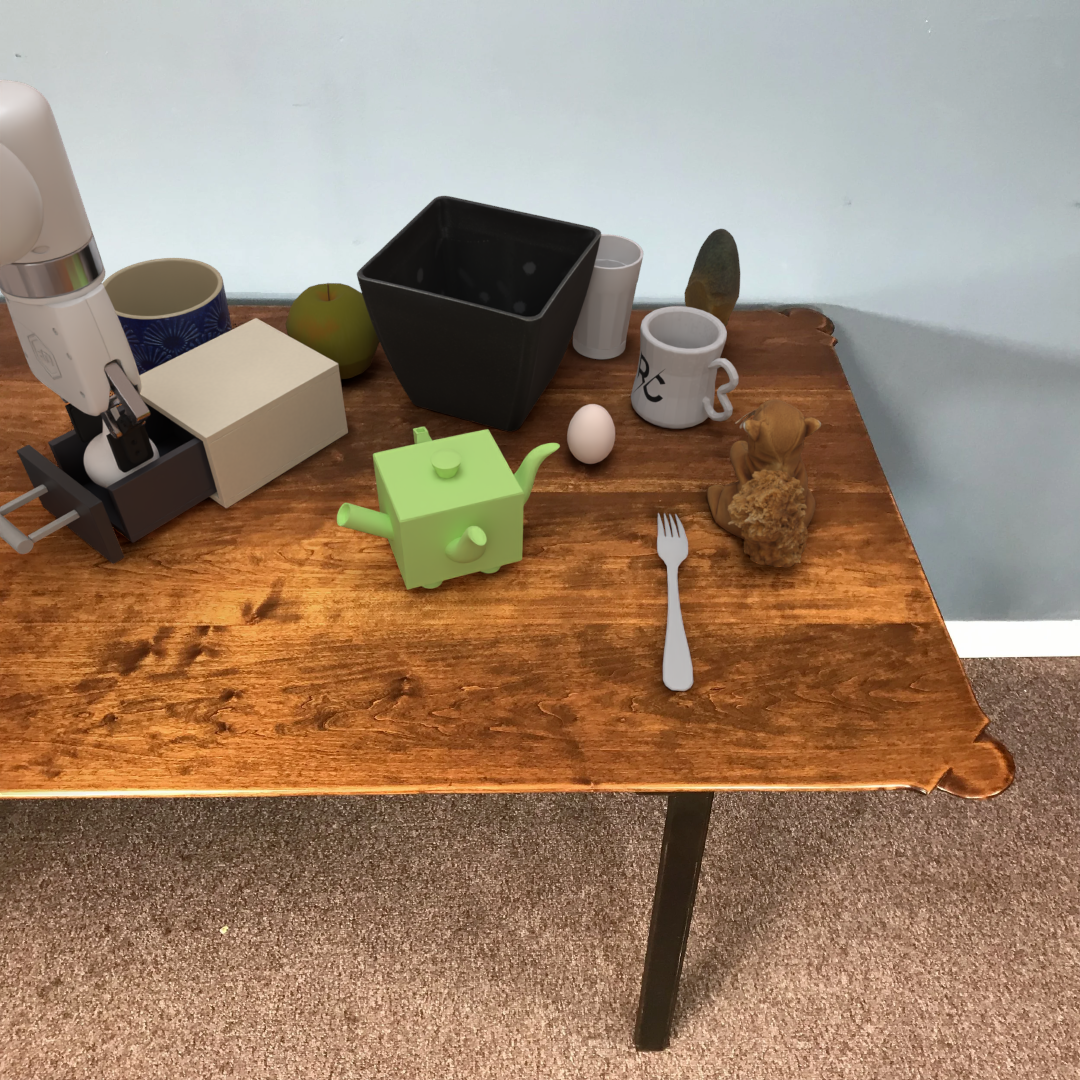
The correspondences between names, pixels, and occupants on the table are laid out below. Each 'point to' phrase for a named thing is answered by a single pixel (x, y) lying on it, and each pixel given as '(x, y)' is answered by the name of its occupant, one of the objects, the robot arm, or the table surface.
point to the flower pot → (478, 306)
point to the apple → (334, 326)
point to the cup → (609, 299)
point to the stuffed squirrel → (768, 486)
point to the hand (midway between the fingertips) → (116, 447)
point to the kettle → (448, 506)
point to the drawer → (113, 489)
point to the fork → (674, 608)
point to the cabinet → (251, 404)
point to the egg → (591, 434)
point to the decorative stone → (715, 276)
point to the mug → (681, 368)
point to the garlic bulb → (107, 459)
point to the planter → (168, 307)
